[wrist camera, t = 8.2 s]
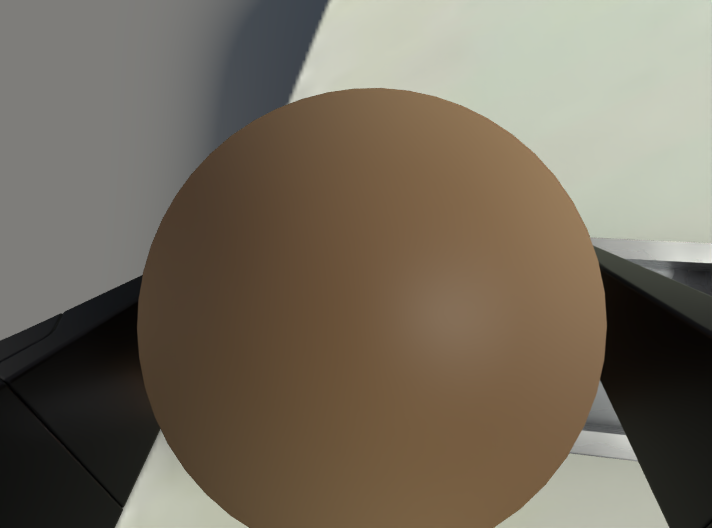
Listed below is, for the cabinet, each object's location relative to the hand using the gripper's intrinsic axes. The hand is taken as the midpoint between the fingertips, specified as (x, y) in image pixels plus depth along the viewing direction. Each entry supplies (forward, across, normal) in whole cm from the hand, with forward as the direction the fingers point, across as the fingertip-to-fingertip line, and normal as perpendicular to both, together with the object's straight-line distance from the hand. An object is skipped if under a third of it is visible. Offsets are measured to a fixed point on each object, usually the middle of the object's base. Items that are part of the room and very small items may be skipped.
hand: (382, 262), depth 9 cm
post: (+4, 0, +6) cm, 8 cm away
